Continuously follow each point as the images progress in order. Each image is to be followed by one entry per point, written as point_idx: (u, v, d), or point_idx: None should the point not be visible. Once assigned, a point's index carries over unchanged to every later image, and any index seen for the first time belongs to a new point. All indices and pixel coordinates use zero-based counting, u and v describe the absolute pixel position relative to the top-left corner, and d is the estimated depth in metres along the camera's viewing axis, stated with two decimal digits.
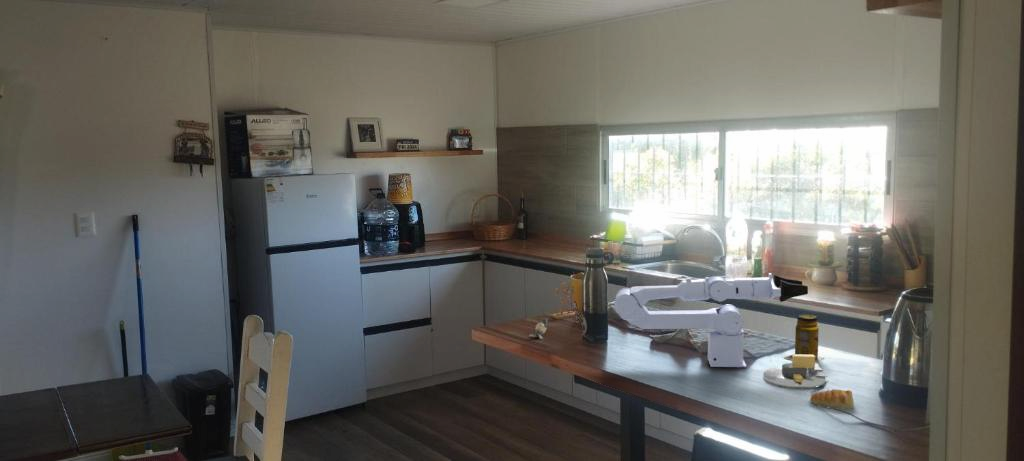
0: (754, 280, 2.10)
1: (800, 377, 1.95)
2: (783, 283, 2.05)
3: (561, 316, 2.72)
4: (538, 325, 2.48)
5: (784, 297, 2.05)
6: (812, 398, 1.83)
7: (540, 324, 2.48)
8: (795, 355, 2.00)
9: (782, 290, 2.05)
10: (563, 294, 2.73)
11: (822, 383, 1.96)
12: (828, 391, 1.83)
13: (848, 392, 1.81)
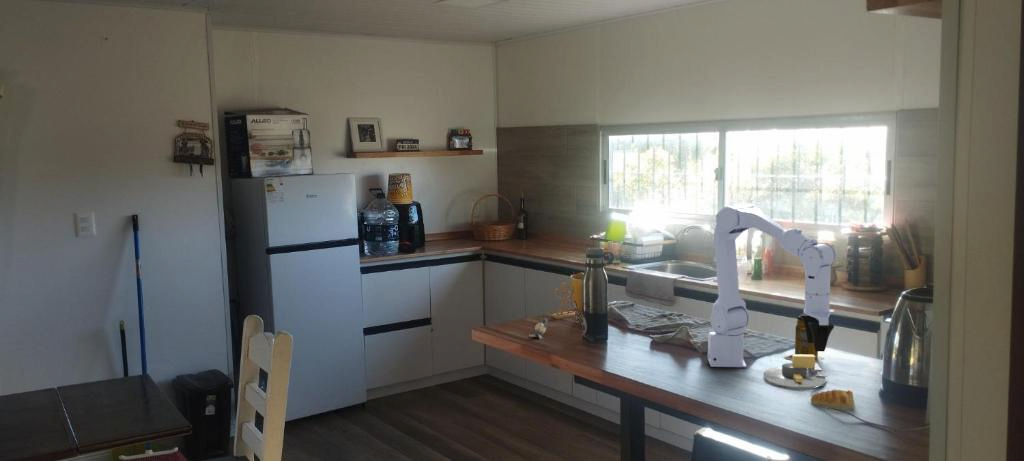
0: (829, 295, 1.90)
1: (800, 377, 1.95)
2: (832, 327, 1.86)
3: (561, 316, 2.72)
4: (538, 325, 2.48)
5: (815, 328, 1.87)
6: (813, 398, 1.82)
7: (540, 324, 2.48)
8: (795, 355, 2.00)
9: (824, 326, 1.87)
10: (563, 294, 2.73)
11: (822, 383, 1.96)
12: (829, 391, 1.82)
13: (849, 392, 1.81)
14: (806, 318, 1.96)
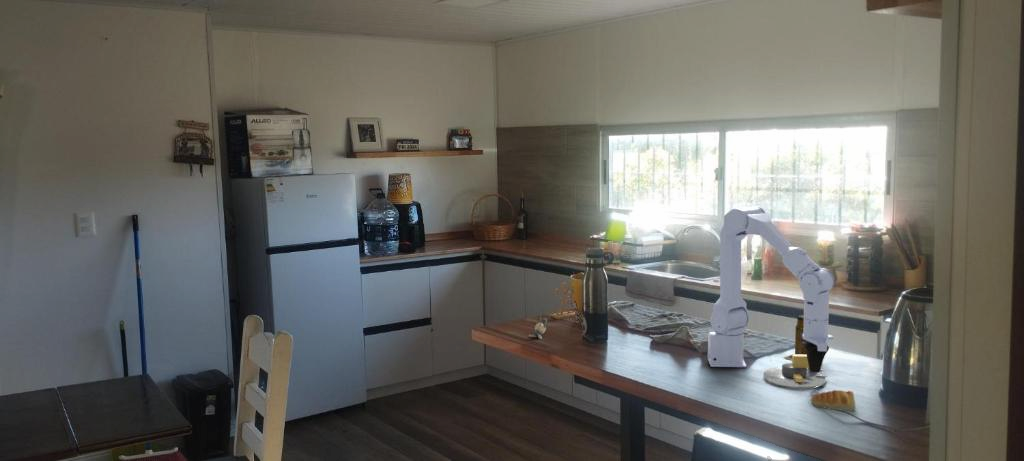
0: (827, 321, 1.91)
1: (800, 377, 1.95)
2: (827, 349, 1.91)
3: (561, 316, 2.72)
4: (537, 325, 2.48)
5: (811, 350, 1.92)
6: (813, 399, 1.82)
7: (539, 324, 2.48)
8: (795, 355, 2.00)
9: None
10: (563, 294, 2.74)
11: (822, 383, 1.96)
12: (829, 392, 1.82)
13: (849, 393, 1.80)
14: None
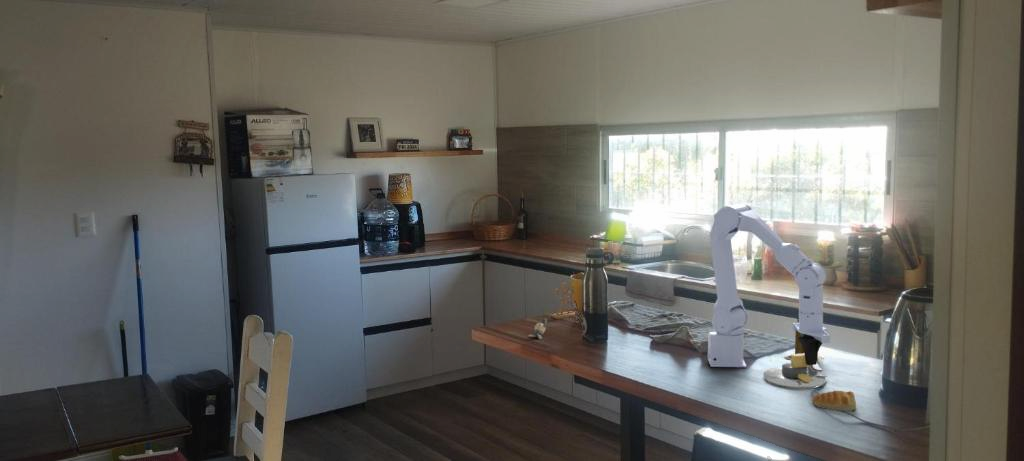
0: (822, 314, 1.98)
1: (808, 377, 1.95)
2: None
3: (561, 316, 2.72)
4: (537, 325, 2.48)
5: (809, 342, 1.97)
6: (814, 400, 1.82)
7: (539, 324, 2.48)
8: (795, 355, 2.00)
9: (816, 340, 1.98)
10: (563, 294, 2.74)
11: (822, 383, 1.96)
12: (830, 392, 1.82)
13: (850, 393, 1.80)
14: None
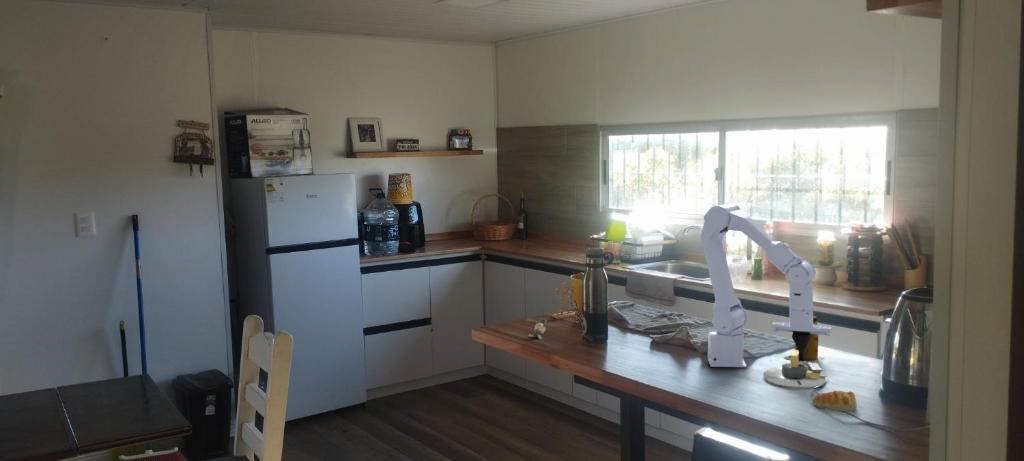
0: None
1: (817, 372, 1.99)
2: (811, 334, 2.03)
3: (561, 316, 2.72)
4: (537, 325, 2.48)
5: (807, 338, 2.00)
6: (815, 400, 1.81)
7: (539, 324, 2.48)
8: (795, 355, 2.00)
9: (810, 335, 2.02)
10: (563, 294, 2.74)
11: (822, 383, 1.96)
12: (830, 393, 1.82)
13: (851, 393, 1.80)
14: None
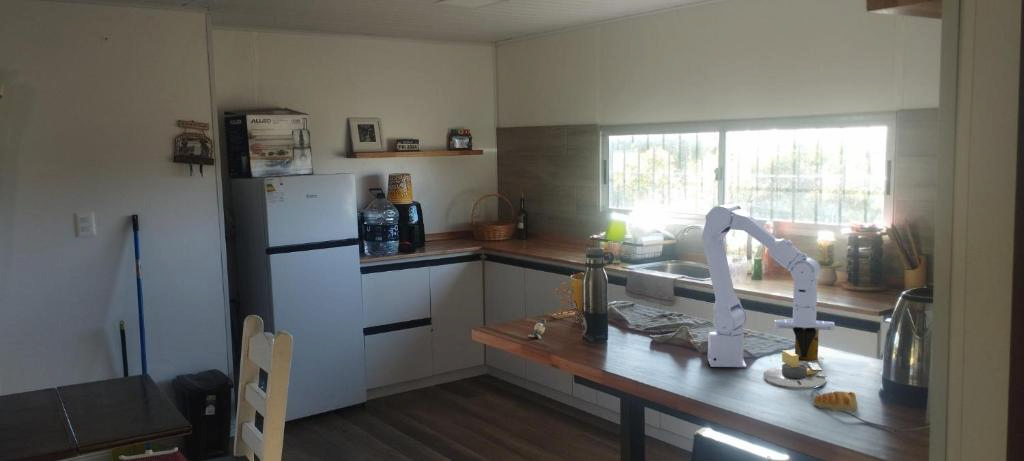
0: None
1: None
2: None
3: (561, 316, 2.72)
4: (537, 325, 2.48)
5: None
6: (816, 401, 1.81)
7: (539, 324, 2.48)
8: (794, 355, 2.01)
9: None
10: (563, 294, 2.74)
11: (822, 383, 1.96)
12: (831, 393, 1.81)
13: (851, 394, 1.80)
14: (803, 334, 2.01)
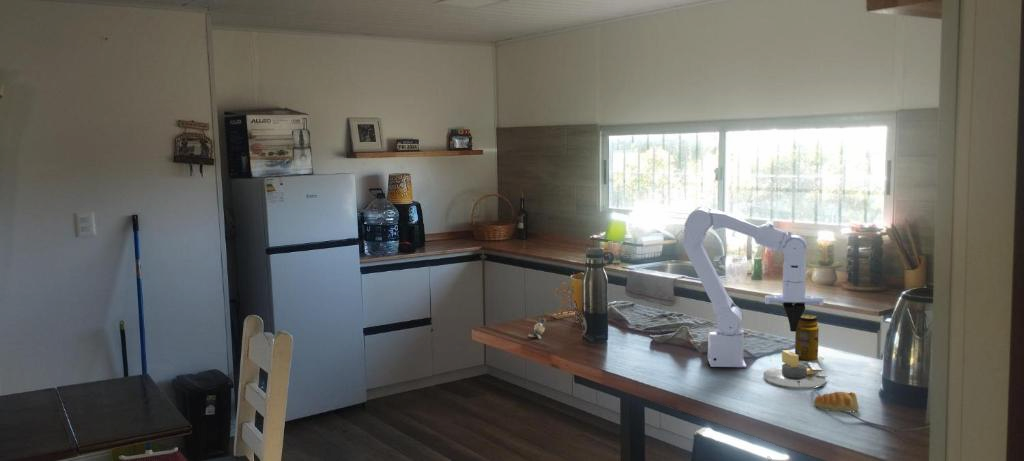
0: None
1: None
2: None
3: (561, 316, 2.72)
4: (537, 325, 2.48)
5: None
6: (816, 401, 1.81)
7: (539, 324, 2.48)
8: (794, 355, 2.01)
9: None
10: (563, 294, 2.74)
11: (822, 383, 1.96)
12: (832, 394, 1.81)
13: (852, 394, 1.79)
14: None
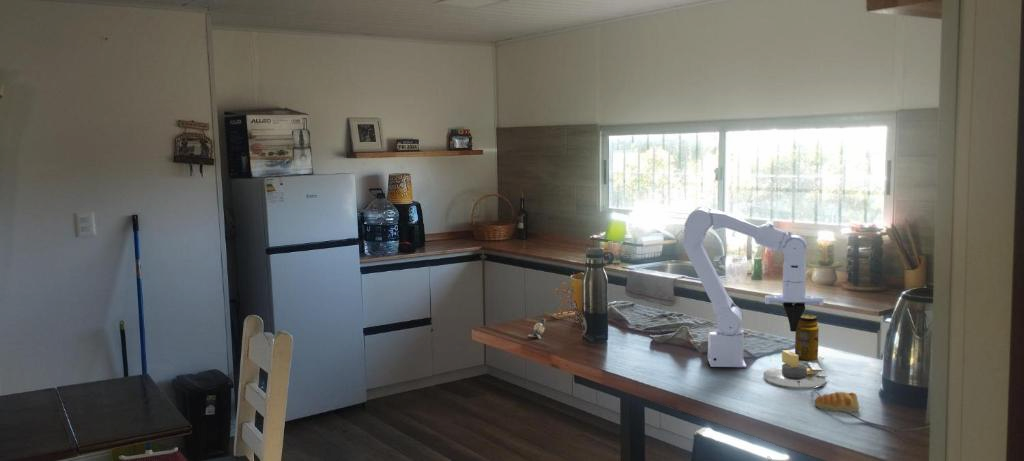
0: None
1: None
2: None
3: (561, 316, 2.72)
4: (536, 325, 2.48)
5: None
6: (817, 402, 1.80)
7: (538, 324, 2.48)
8: (794, 355, 2.01)
9: None
10: (563, 294, 2.74)
11: (822, 383, 1.96)
12: (832, 394, 1.81)
13: (852, 394, 1.79)
14: None
